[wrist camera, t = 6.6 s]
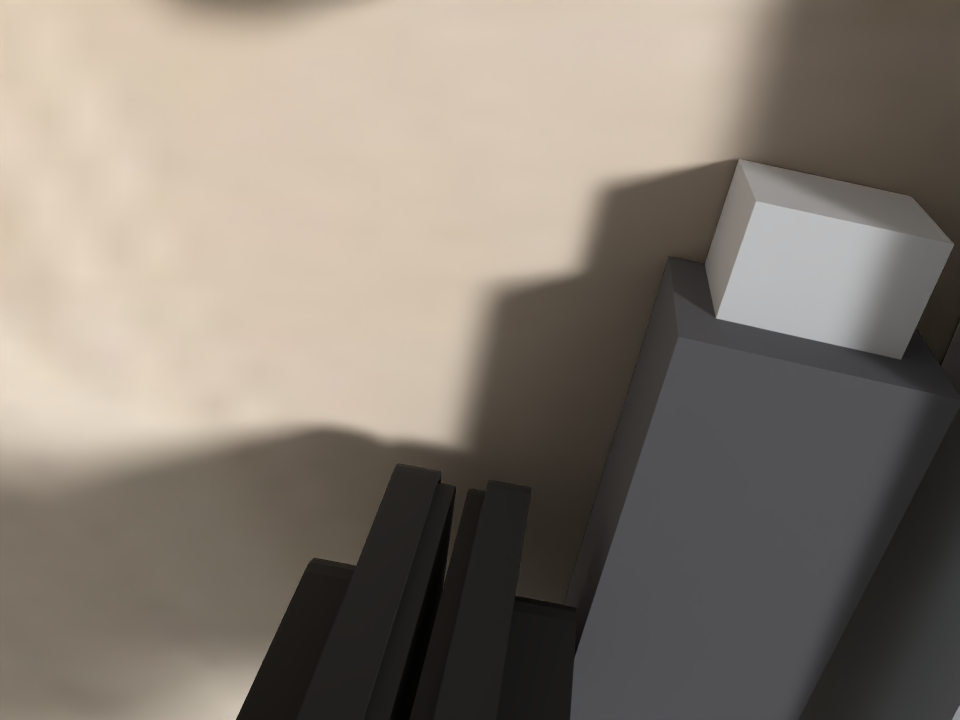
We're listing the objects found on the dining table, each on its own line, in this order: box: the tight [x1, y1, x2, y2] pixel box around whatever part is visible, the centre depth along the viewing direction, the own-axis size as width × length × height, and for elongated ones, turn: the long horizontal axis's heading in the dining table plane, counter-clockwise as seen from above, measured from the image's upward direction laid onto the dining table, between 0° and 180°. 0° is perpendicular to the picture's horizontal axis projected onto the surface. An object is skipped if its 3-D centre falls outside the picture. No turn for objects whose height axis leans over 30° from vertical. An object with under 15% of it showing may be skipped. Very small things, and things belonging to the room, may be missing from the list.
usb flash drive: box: [563, 159, 960, 720], centre depth 11 cm, size 10×3×2 cm, turn 170°
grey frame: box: [799, 321, 960, 720], centre depth 11 cm, size 22×7×3 cm, turn 173°
